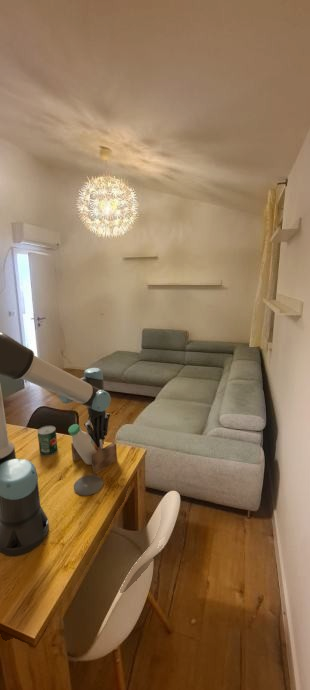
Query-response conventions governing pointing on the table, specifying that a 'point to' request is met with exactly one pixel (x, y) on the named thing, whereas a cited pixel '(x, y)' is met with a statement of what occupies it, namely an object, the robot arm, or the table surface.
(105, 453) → the bookends
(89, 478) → the coaster
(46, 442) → the canned tomato
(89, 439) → the milk bottle
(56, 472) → the table surface
